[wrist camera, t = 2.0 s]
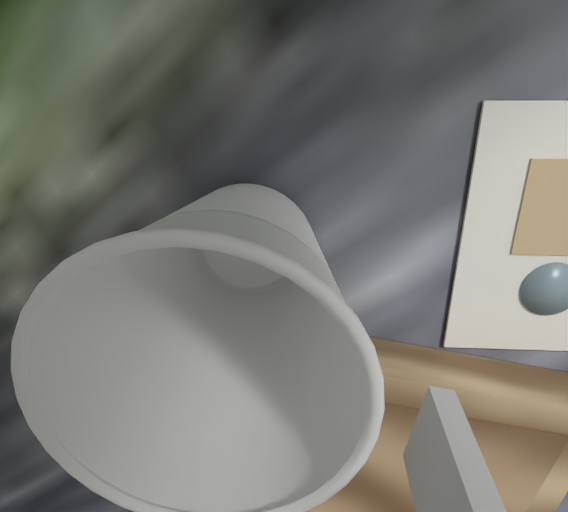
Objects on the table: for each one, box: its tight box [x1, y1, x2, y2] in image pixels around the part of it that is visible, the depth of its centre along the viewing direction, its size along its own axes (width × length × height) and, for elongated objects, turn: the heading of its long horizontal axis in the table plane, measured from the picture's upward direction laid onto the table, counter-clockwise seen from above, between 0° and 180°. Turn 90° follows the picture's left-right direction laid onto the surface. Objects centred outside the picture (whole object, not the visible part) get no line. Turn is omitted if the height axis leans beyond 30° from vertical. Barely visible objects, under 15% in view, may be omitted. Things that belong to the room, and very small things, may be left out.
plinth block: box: [306, 337, 568, 512], centre depth 26 cm, size 16×16×3 cm
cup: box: [11, 183, 385, 512], centre depth 17 cm, size 10×10×11 cm
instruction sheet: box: [443, 100, 568, 351], centre depth 21 cm, size 12×9×1 cm
